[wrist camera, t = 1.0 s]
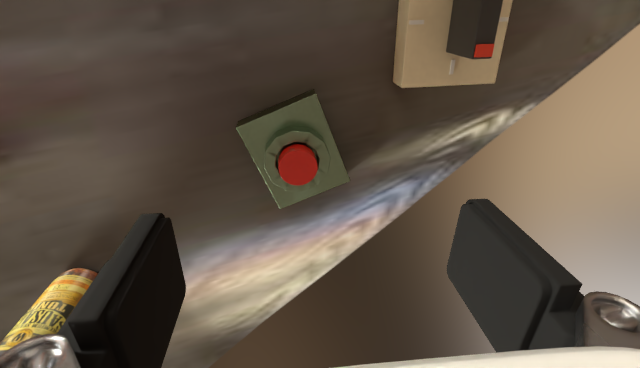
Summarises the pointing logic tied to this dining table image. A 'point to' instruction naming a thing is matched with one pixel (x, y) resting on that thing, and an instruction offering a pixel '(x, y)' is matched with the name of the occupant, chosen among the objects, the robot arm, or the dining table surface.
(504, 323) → the robot arm
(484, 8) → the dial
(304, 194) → the button housing
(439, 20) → the panel
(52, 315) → the sauce bottle
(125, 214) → the dining table surface
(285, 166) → the red button
